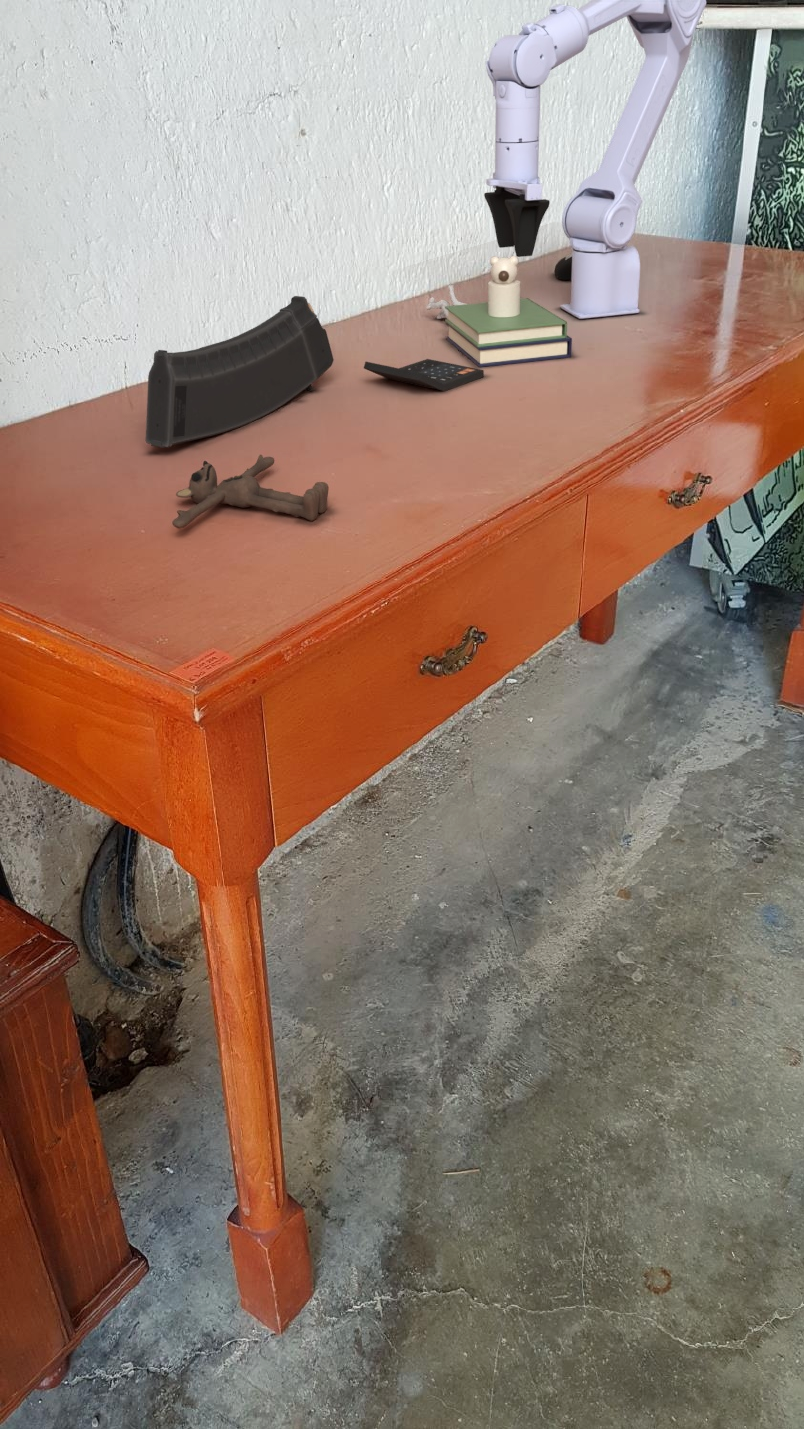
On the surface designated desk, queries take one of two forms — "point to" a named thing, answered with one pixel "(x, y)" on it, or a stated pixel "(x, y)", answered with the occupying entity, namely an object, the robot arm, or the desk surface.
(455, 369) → the calculator
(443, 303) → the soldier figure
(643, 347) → the desk surface
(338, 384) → the desk surface
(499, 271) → the toy bear
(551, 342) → the book stack
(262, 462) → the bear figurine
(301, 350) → the magazine
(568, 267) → the computer mouse
